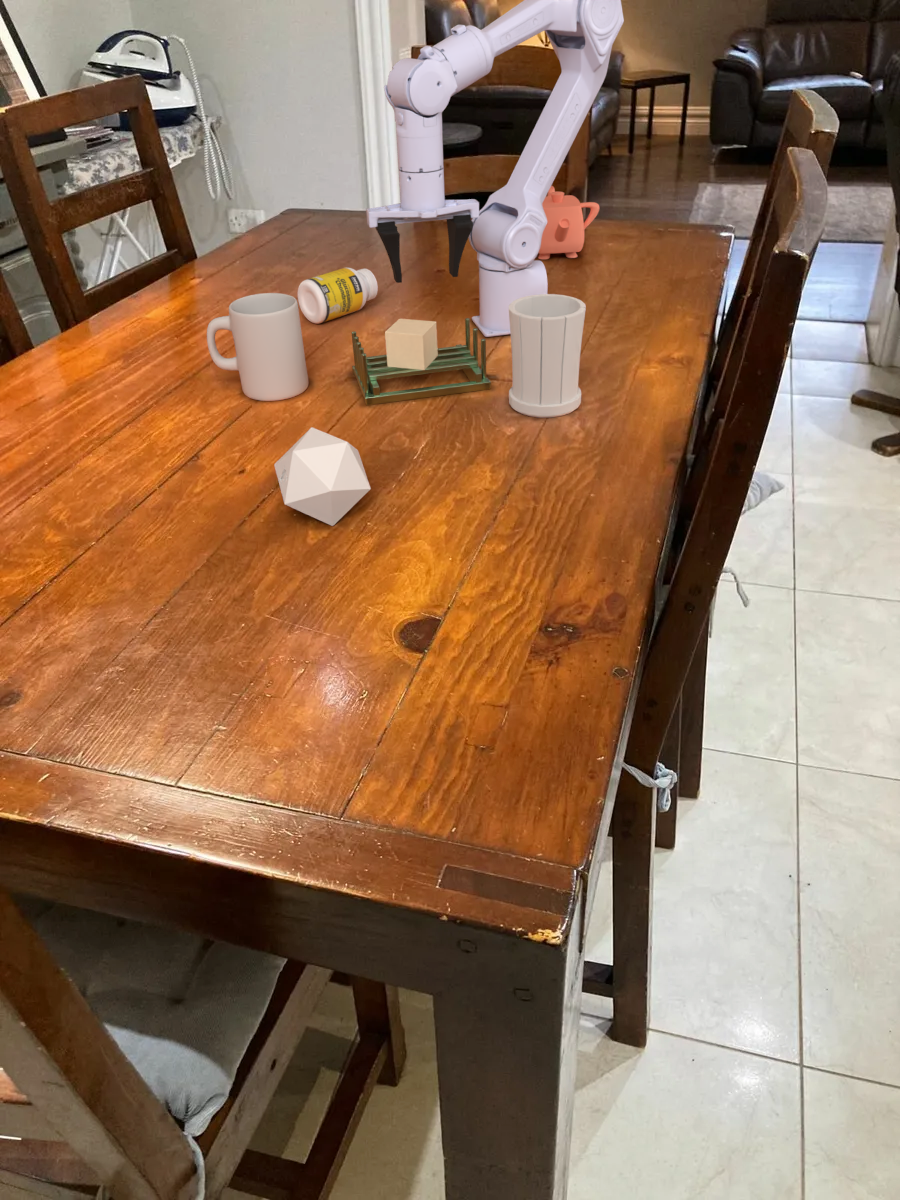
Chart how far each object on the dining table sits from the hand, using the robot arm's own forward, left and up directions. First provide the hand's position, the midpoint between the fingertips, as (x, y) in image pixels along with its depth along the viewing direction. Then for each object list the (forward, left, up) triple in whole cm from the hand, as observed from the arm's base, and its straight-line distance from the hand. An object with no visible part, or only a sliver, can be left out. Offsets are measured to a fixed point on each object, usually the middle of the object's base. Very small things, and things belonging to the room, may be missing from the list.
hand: (425, 277), depth 126 cm
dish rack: (+4, +12, -9) cm, 16 cm away
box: (+5, +12, -7) cm, 15 cm away
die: (+20, +42, -10) cm, 47 cm away
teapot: (-31, -37, -10) cm, 49 cm away
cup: (-9, +23, -10) cm, 26 cm away
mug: (+24, +8, -10) cm, 27 cm away
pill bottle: (+15, -14, -6) cm, 22 cm away
